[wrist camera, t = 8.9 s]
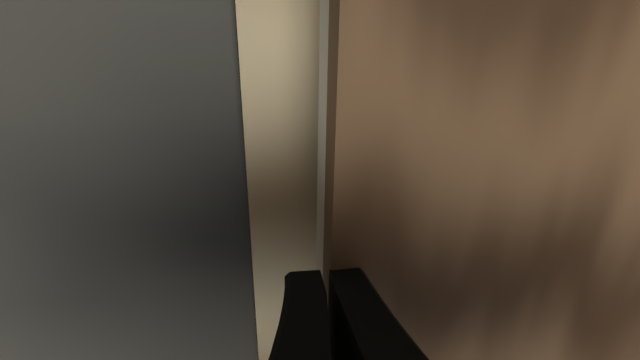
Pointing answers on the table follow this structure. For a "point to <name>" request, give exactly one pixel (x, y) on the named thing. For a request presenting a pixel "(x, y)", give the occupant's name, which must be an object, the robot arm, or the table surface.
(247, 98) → the board
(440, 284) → the flip panel
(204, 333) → the table surface
